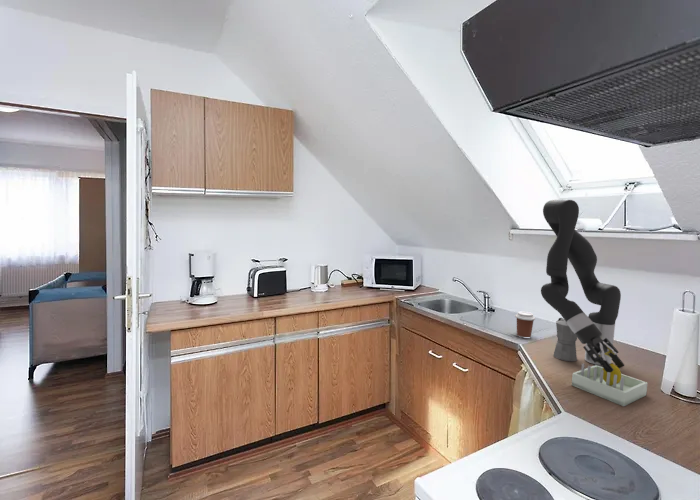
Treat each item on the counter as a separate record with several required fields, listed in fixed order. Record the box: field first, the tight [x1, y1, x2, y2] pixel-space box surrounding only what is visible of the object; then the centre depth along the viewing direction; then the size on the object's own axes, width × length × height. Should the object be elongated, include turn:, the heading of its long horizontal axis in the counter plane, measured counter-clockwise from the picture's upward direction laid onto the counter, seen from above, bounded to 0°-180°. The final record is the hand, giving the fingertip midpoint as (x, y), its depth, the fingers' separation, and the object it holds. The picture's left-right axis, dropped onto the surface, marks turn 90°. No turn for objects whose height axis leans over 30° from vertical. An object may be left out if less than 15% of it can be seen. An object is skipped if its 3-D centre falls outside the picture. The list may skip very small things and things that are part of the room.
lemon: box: [602, 362, 622, 386], centre depth 124 cm, size 6×6×8 cm
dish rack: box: [571, 363, 648, 407], centre depth 123 cm, size 16×16×8 cm
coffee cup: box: [514, 310, 536, 338], centre depth 180 cm, size 9×9×12 cm
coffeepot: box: [553, 317, 578, 362], centre depth 153 cm, size 15×9×18 cm, turn 171°
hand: (616, 369), depth 123 cm, fingers open, 8 cm apart
